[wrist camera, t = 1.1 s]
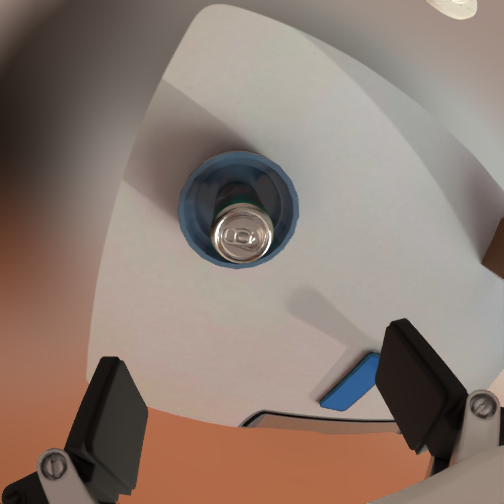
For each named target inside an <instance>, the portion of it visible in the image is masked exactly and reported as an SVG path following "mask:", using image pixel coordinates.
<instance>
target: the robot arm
mask: <svg viewBox="0 0 504 504" xmlns="http://www.w3.org/2000/svg"><path fill="white" fill-rule="evenodd" d="M450 1H452V2H454V3H458V4H462V3H465V2H467V1H468V0H450ZM375 384H376V386H377V388H378V390H379V392H380V393H381V395H382V397H383V399H384V401H385V403H386V404H387V406H388V408H389V410H390V412H391V414H392V416H393V417H394V419H395V421H396V423H397V425H398V427H399V429H400V431H401V433H402V435H403V436H404V438H405V440H406V442H407V444H408V446H409V448H410V449H411V450H415V452H416V454H417V455H418V454H421V453H423V452H425V451H427V450H429V452H430V454H431V459H430V462H429V466H428V469H427V472H426V475H425V478H424V480H423V481H421V482H418V483H416V484H414V485H412V486H409V487H407V488H405V489H402V490H400V491H398V492H395V493H393V494H390V495H388V496H385V497H382V498H380V499H377V500H374V501H371V502H368V503H366V504H504V407H500V402H499V400H498V398H497V397H496V396H495V395H494V394H493V393H492V392H490V391H487V390H476V391H474V392H472V393H471V394H470V395H468V393H467V390H466V389H465V387H464V386H463V385H462V384H461V382H460V381H459V380H458V379H457V377H456V376H455V375H454V374H453V372H452V371H451V370H450V369H449V367H448V366H447V365H446V364H445V362H444V361H443V360H442V359H441V358H440V356H439V355H438V354H437V353H436V352H435V350H434V349H433V348H432V347H431V346H430V344H429V343H428V342H427V341H426V340H425V339H424V337H423V336H422V335H421V334H420V333H419V332H418V331H417V329H416V328H415V327H414V326H413V325H412V324H411V323H410V321H409V320H408V319H406V318H403V319H399V320H395V321H392V322H391V323H390V325H389V326H388V327H387V328H386V331H385V336H384V341H383V345H382V350H381V354H380V358H379V363H378V367H377V371H376V374H375ZM147 418H148V409H147V406H146V404H145V402H144V401H143V399H142V397H141V395H140V393H139V391H138V389H137V387H136V385H135V383H134V381H133V379H132V377H131V375H130V373H129V371H128V369H127V367H126V365H125V363H124V361H122V360H120V359H119V358H118V357H102V358H101V359H100V361H99V364H98V366H97V368H96V370H95V373H94V375H93V377H92V379H91V382H90V384H89V386H88V389H87V391H86V394H85V395H84V398H83V400H82V402H81V405H80V407H79V410H78V412H77V415H76V418H75V420H74V423H73V425H72V428H71V431H70V433H69V437H68V439H67V442H66V445H65V448H64V450H61V449H58V448H51V449H48V450H46V451H45V452H43V453H42V454H41V455H40V456H39V458H38V461H37V466H36V467H37V471H36V472H34V473H32V474H30V475H28V476H26V477H24V478H22V479H20V480H18V481H16V482H14V483H12V484H10V485H8V486H7V487H6V488H5V489H4V491H3V494H2V504H120V503H119V502H118V496H119V494H124V495H131V490H132V489H135V487H136V482H137V476H138V469H139V463H140V457H141V451H142V445H143V440H144V434H145V429H146V423H147ZM0 504H1V503H0Z"/></svg>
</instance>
